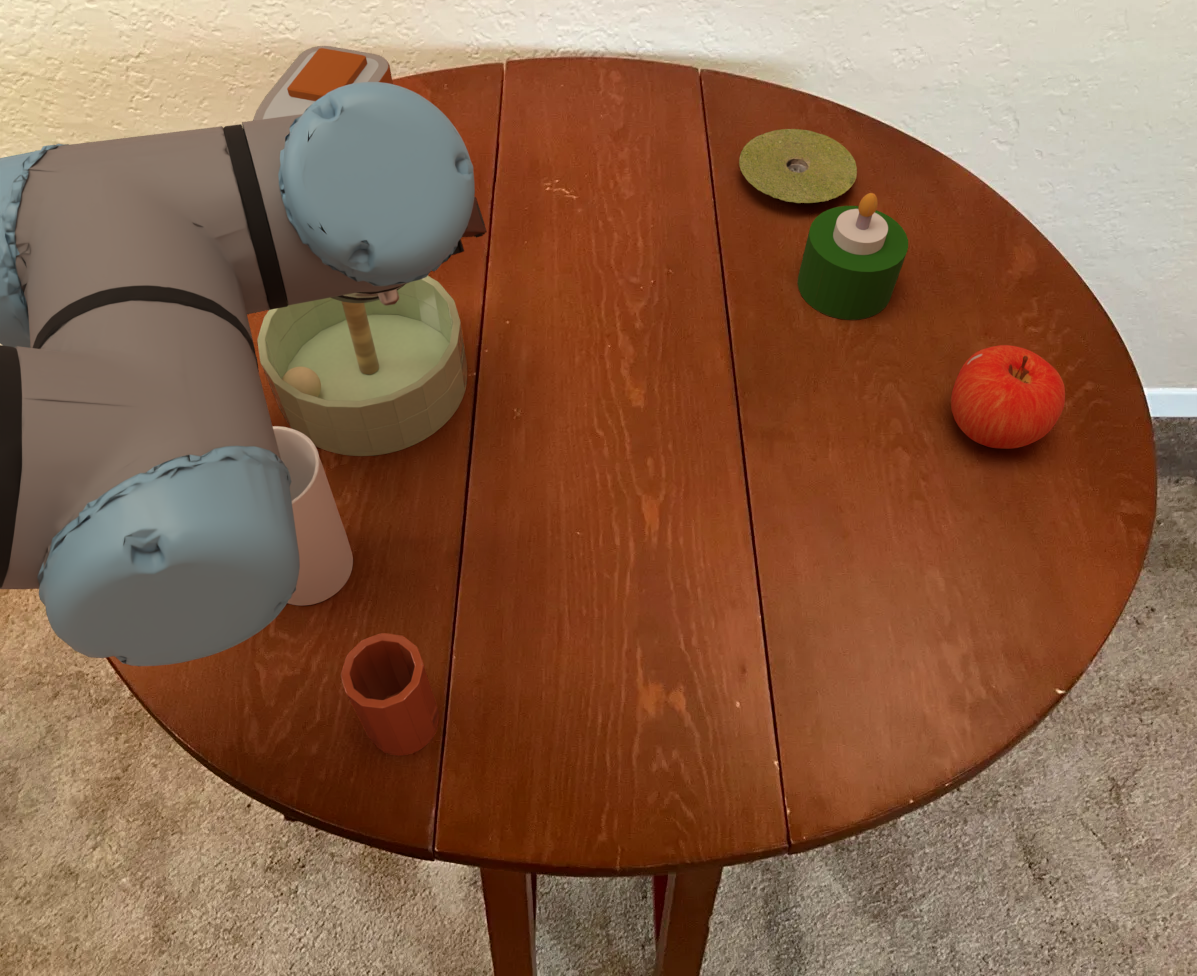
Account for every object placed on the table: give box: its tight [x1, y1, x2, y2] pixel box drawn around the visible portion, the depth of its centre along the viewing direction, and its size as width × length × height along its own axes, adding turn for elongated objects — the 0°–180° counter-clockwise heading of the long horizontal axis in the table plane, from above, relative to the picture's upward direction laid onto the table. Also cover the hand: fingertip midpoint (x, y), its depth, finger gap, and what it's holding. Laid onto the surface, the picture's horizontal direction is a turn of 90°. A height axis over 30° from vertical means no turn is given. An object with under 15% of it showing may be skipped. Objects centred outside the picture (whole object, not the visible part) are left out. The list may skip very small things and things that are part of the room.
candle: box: [796, 192, 909, 321], centre depth 82 cm, size 8×8×10 cm
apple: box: [950, 344, 1066, 450], centre depth 73 cm, size 8×8×8 cm
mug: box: [272, 425, 354, 607], centre depth 63 cm, size 10×7×12 cm, turn 138°
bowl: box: [256, 275, 468, 457], centre depth 76 cm, size 15×15×6 cm
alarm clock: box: [252, 45, 394, 121], centre depth 84 cm, size 15×8×14 cm, turn 164°
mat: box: [738, 128, 858, 204], centre depth 93 cm, size 11×11×2 cm
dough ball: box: [282, 367, 321, 397], centre depth 76 cm, size 3×3×3 cm
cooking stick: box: [342, 301, 379, 374], centre depth 72 cm, size 2×2×18 cm
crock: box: [340, 632, 440, 757], centre depth 59 cm, size 5×5×8 cm
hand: (337, 265), depth 71 cm, fingers open, 12 cm apart
